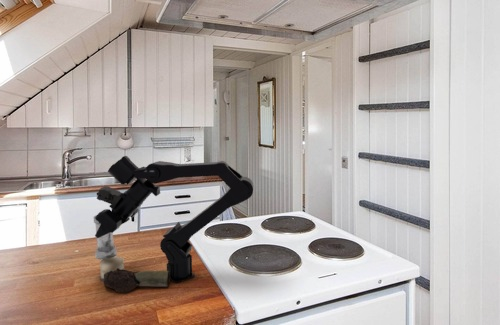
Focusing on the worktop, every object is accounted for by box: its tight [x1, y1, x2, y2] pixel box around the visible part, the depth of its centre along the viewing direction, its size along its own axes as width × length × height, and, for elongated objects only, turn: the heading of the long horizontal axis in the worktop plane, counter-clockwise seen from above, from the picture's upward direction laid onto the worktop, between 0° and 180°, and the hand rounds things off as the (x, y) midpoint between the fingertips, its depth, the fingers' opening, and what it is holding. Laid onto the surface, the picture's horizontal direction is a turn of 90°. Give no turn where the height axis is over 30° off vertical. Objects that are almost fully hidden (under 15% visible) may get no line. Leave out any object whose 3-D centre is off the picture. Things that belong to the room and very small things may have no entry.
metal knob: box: [92, 214, 118, 261], centre depth 100 cm, size 6×6×12 cm
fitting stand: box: [99, 255, 125, 282], centre depth 101 cm, size 7×7×5 cm
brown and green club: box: [102, 268, 171, 294], centre depth 94 cm, size 18×7×6 cm, turn 94°
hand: (100, 234), depth 100 cm, fingers closed on metal knob, 4 cm apart
